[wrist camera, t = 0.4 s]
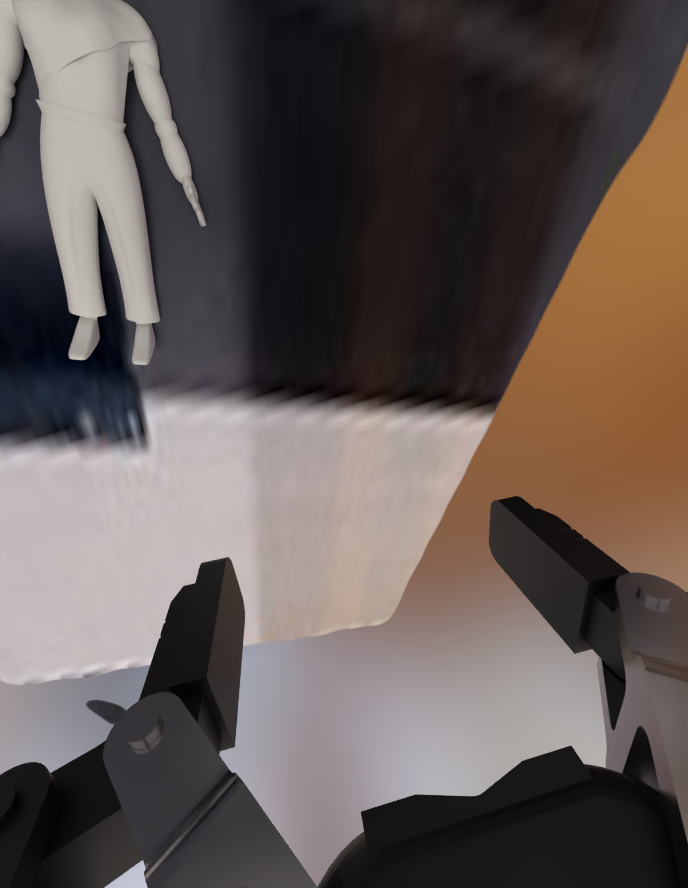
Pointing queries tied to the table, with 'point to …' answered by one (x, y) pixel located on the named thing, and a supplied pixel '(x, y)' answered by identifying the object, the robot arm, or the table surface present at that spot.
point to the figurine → (93, 147)
